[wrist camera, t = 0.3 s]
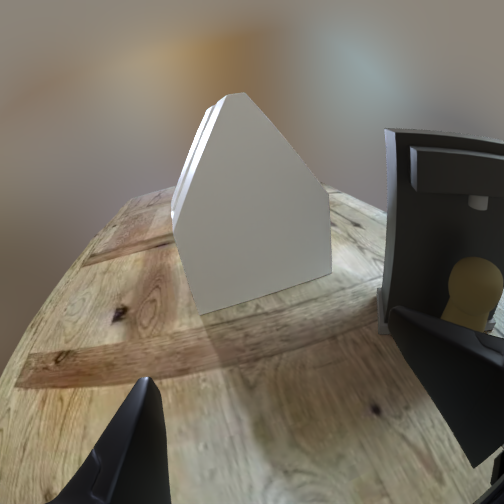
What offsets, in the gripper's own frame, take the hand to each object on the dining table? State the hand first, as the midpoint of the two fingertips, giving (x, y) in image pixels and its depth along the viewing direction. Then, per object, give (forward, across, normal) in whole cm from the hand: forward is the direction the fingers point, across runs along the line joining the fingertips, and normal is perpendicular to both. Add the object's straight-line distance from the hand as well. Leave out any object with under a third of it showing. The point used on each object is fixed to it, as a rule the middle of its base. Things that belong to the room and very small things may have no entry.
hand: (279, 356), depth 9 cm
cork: (+4, -17, +14) cm, 23 cm away
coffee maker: (+9, -20, +14) cm, 26 cm away
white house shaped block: (+31, -3, +13) cm, 34 cm away
